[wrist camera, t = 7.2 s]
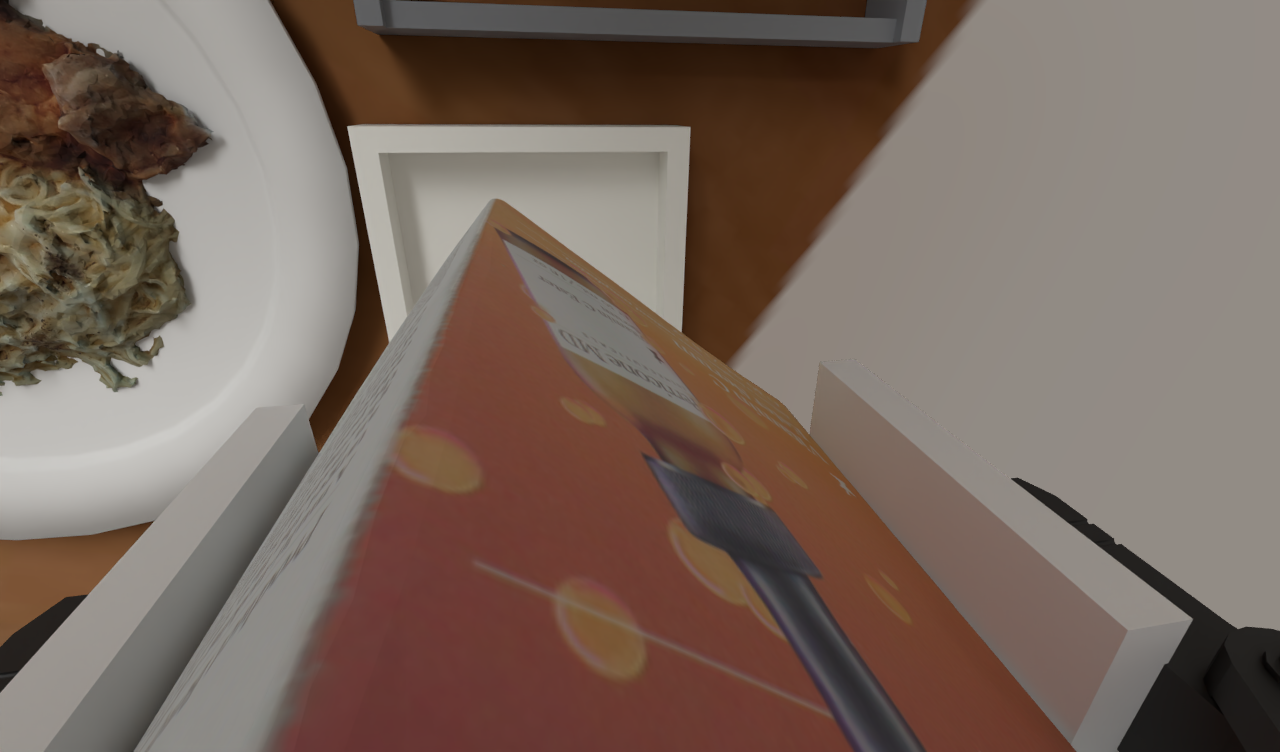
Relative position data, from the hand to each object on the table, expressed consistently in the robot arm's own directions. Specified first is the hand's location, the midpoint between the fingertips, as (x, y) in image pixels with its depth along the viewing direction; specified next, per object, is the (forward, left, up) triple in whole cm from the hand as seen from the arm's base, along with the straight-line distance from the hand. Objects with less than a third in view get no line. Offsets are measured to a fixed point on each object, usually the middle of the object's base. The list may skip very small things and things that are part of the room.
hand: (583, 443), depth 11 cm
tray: (-1, -1, -17) cm, 17 cm away
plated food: (-23, +3, -17) cm, 29 cm away
